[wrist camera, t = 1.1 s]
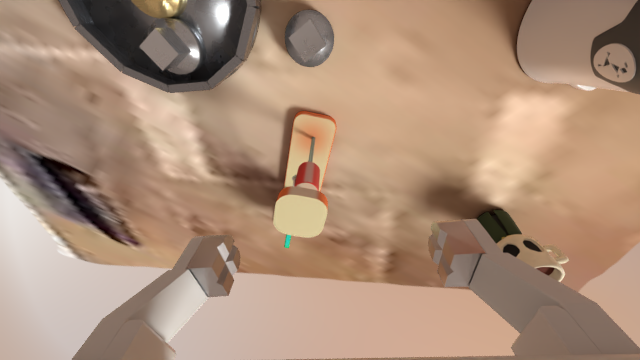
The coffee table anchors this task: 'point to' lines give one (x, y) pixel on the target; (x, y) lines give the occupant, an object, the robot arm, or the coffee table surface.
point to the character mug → (523, 244)
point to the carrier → (170, 38)
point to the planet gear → (309, 38)
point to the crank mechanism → (305, 177)
